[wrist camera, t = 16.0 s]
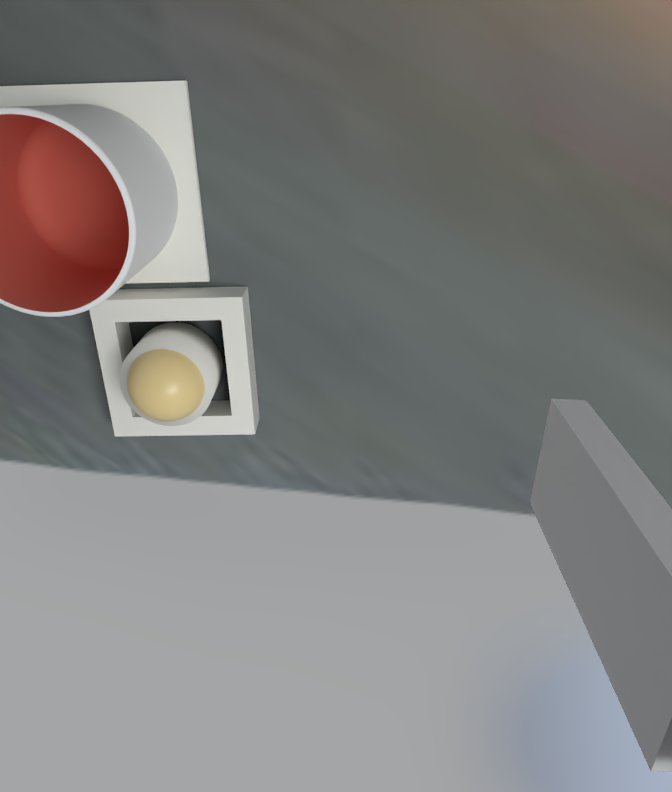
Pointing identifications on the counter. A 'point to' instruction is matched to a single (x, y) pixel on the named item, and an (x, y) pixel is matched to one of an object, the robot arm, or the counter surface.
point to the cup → (78, 206)
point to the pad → (172, 130)
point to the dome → (171, 374)
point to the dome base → (180, 306)
